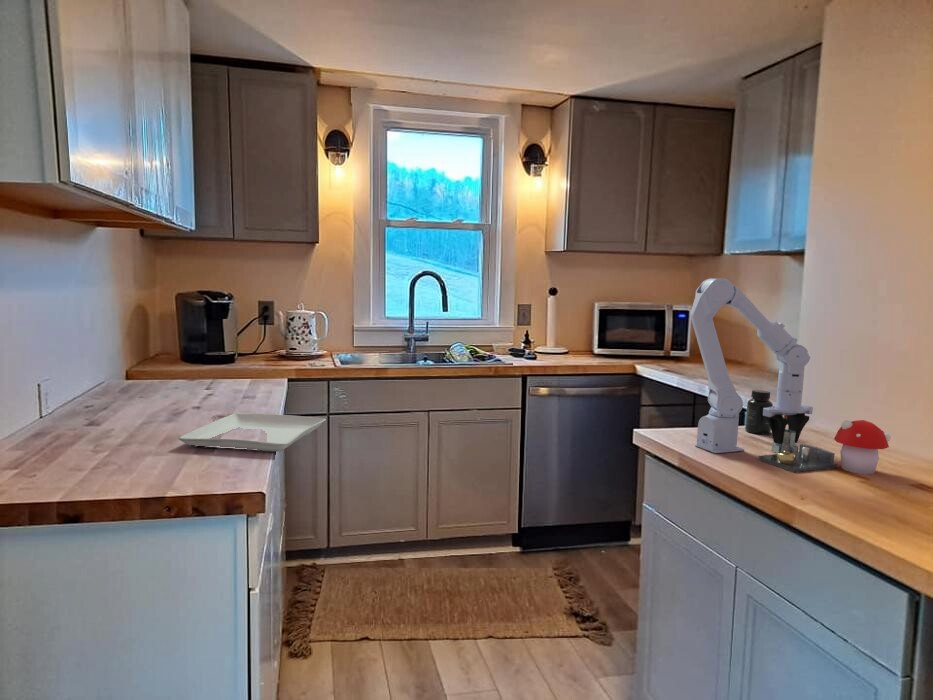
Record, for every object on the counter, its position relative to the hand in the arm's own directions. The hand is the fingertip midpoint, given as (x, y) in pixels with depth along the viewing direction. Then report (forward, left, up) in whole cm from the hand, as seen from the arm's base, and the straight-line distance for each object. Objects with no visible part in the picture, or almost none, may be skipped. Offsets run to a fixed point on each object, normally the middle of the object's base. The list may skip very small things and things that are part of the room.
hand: (785, 442), depth 161 cm
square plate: (-127, +46, -3) cm, 135 cm away
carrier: (-6, -9, -2) cm, 11 cm away
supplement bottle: (+10, +19, -3) cm, 22 cm away
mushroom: (+4, -17, -3) cm, 18 cm away
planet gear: (0, 0, -2) cm, 2 cm away
